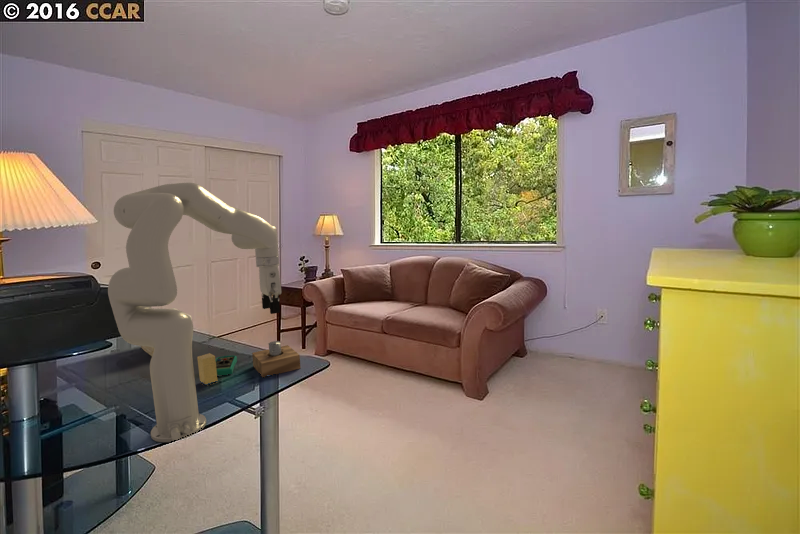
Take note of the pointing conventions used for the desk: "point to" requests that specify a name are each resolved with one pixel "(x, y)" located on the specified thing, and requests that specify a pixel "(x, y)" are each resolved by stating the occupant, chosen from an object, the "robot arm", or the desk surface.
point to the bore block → (276, 361)
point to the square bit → (207, 368)
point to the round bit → (274, 348)
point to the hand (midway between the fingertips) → (271, 310)
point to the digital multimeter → (225, 364)
